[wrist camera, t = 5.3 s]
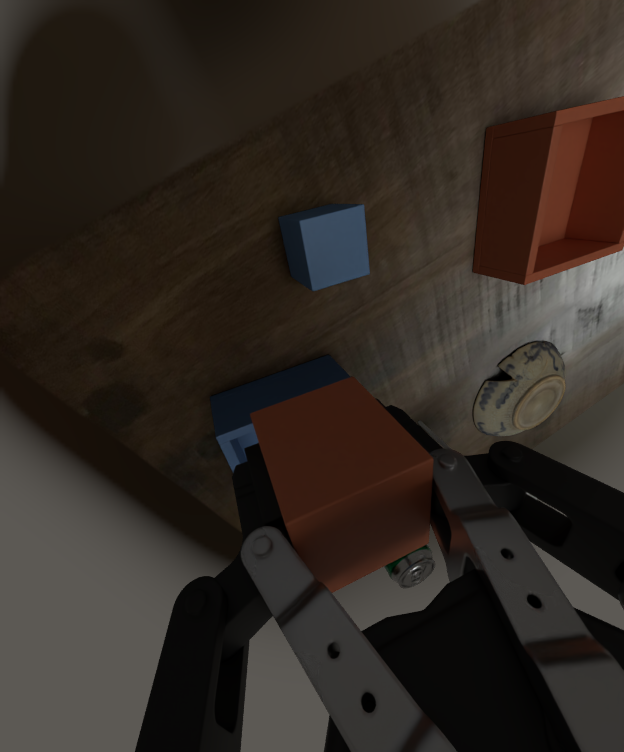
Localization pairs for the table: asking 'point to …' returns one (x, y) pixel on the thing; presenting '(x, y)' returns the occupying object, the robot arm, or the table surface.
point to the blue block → (326, 244)
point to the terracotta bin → (551, 192)
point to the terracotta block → (345, 481)
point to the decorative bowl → (522, 391)
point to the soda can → (412, 567)
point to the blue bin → (265, 402)
